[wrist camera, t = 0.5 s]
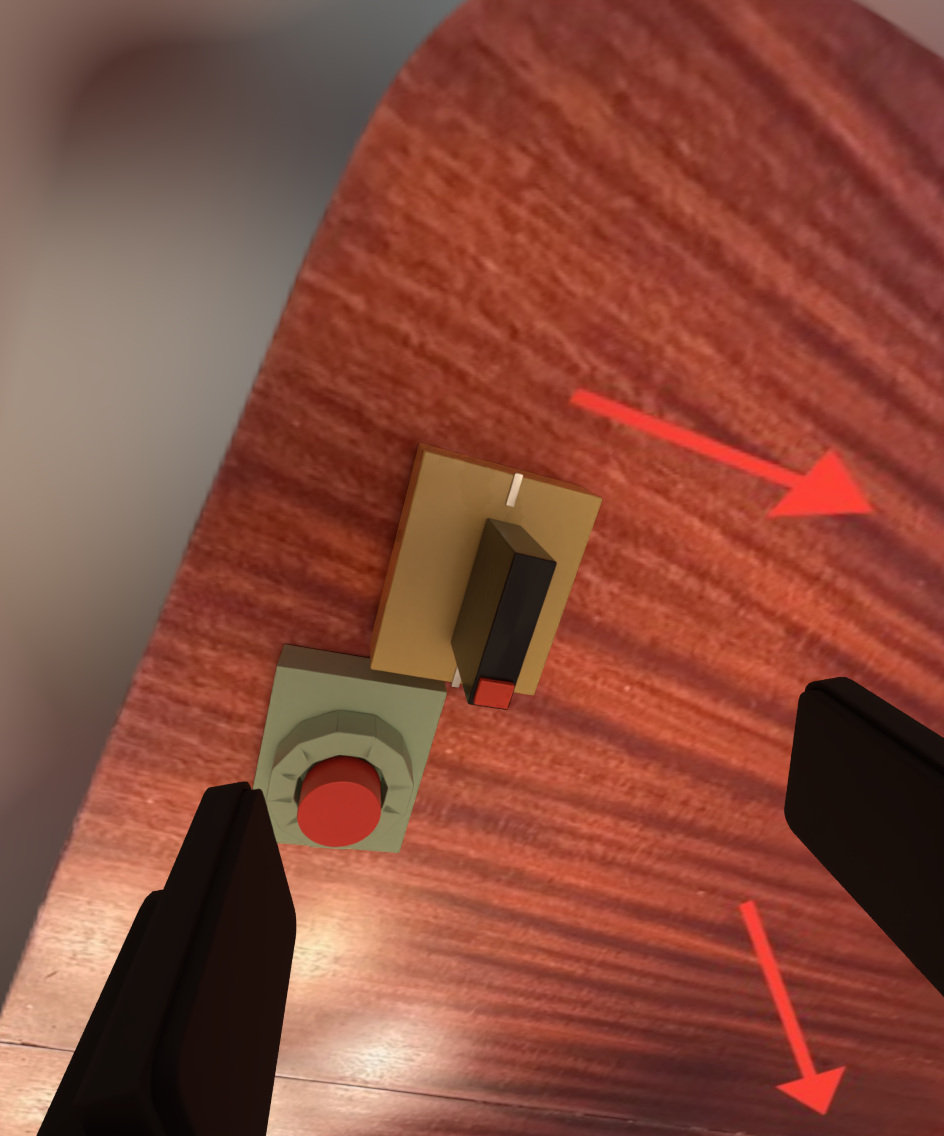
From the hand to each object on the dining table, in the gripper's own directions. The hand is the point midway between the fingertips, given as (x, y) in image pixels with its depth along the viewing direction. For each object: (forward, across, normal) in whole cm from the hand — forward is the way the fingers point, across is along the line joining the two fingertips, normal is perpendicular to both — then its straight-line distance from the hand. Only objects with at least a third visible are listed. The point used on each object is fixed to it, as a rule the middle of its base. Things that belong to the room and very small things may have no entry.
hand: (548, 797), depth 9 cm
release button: (+14, +6, +11) cm, 19 cm away
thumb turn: (+15, -1, +2) cm, 15 cm away
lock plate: (+18, -1, +2) cm, 18 cm away
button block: (+18, +6, +11) cm, 22 cm away
